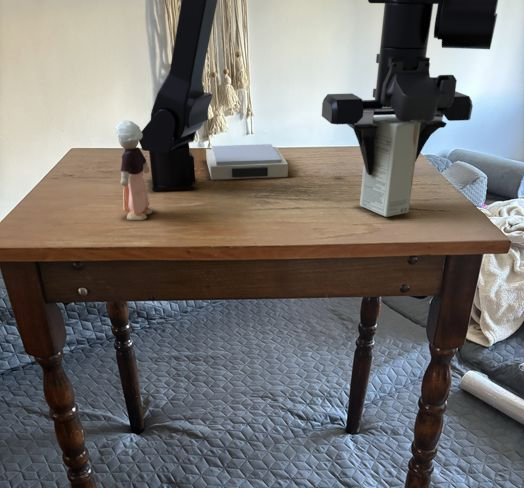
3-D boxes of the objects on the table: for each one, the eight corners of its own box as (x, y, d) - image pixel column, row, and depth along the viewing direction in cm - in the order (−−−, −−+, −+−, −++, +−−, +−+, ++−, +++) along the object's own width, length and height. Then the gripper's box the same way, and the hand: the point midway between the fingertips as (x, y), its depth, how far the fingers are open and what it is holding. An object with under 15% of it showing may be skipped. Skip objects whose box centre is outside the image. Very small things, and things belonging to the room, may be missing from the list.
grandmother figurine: (130, 206, 82) (119, 114, 75) (156, 207, 82) (147, 115, 75) (118, 225, 76) (103, 127, 69) (146, 226, 76) (134, 127, 69)
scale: (211, 180, 93) (210, 163, 92) (206, 161, 104) (205, 145, 102) (288, 177, 95) (288, 160, 93) (275, 158, 105) (276, 143, 104)
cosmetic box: (409, 213, 79) (424, 122, 73) (385, 218, 78) (398, 125, 71) (380, 200, 84) (392, 113, 77) (357, 204, 82) (366, 116, 76)
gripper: (348, 54, 62) (338, 194, 70) (507, 52, 64) (478, 188, 72) (324, 45, 71) (317, 170, 79) (463, 43, 73) (442, 165, 82)
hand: (388, 173), depth 78 cm, fingers closed on cosmetic box, 5 cm apart
